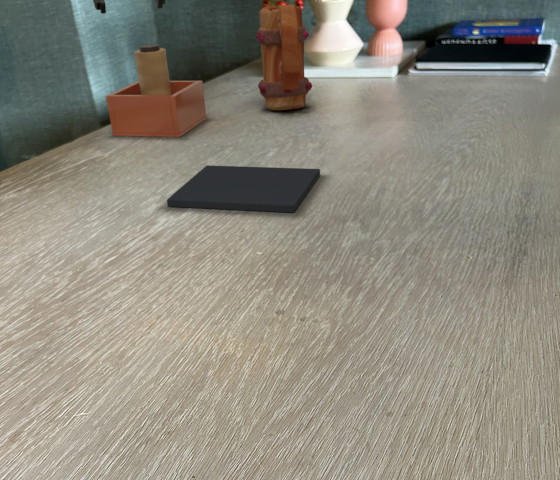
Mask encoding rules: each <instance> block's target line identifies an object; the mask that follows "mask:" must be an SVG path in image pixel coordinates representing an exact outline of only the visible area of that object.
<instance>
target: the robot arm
mask: <svg viewBox="0 0 560 480" xmlns="http://www.w3.org/2000/svg"><path fill="white" fill-rule="evenodd" d="M92 1H93V2H92V3H93V5H94V8H95V10H97V11H100V14H107V7H106V0H92ZM155 4H156V7H157V9H163V8H164V6H163V5H166V0H155Z"/></svg>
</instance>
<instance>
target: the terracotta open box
mask: <svg viewBox="0 0 560 480" xmlns="http://www.w3.org/2000/svg"><path fill="white" fill-rule="evenodd" d="M203 83H204V82H203V80H170V86H171V94H172V95H141V91H140V85H139V80H137V81H135V82H133V83H131V84H128V85H127V86H125V87H122V88H120V89H118V90H116V91H114V92H111V93H109V94H107V95H106V96H105V100H106V104H107V110H108V116H109V120H110V126H111V133H112V136H113V137H148V138H149V137H151V138H153V137H154V138H155V137H156V138H157V137H158V138H181V137H183V136H184V135H185V134H187V133H188V132H190V131H191V130H193V129H194V128H195V127H197V126H198V125H200V124H201V123H202V122H204V121H206V120H207V113H206V112H207V111H206V110H207V109H206V103H205V93H204V92H205V91H204V84H203Z"/></svg>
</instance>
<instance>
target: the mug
mask: <svg viewBox="0 0 560 480" xmlns="http://www.w3.org/2000/svg"><path fill="white" fill-rule="evenodd" d="M259 26H260V27H259V28H258V29H257V31H256V33H255V37H256V40H257V42H258V43H259V44H260V50H261V60H262V61H261V63H262V76H263V79H261V80H260V81H259V82H258V85H257V88H258V90H259V94H260V95H261V96H262V98H264V102H265V103H264V104H265V105H264V106H265V107H266V108H267V109H268V110H270V111H286V110H287V111H289V110H296V109H301V108H304V107H305V106H306V96H307V95H308V94H309V92H310V91H311V89H312V88H313V84H312V82H311V81H310V80H309V78H308V77H306V76H305V59H304V58H305V41H306V40H307V38H308V37H309V36H310V34H309V32H308V31H307V27H306V26H304V25H303V9H302V6H300V5H299V6H298V5H296V6H295V5H294V4H278V5H277V6H275V5H269V6H265V7H264V6H263V7H262V8H261V9H260V10H259Z"/></svg>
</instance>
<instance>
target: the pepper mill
mask: <svg viewBox="0 0 560 480" xmlns="http://www.w3.org/2000/svg"><path fill="white" fill-rule="evenodd" d="M133 53H134V60H135V65H136V71H137V72H136V73H137V78H138V81H139V85H140V91H141V95H172V94H171V86H170V81H171V79H170V71H169V66H168V58H167V51H166V48H163V47H160V44H156V43H151V44H143V45H140V46H139V49H137V50H135V51H134V52H133Z"/></svg>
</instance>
